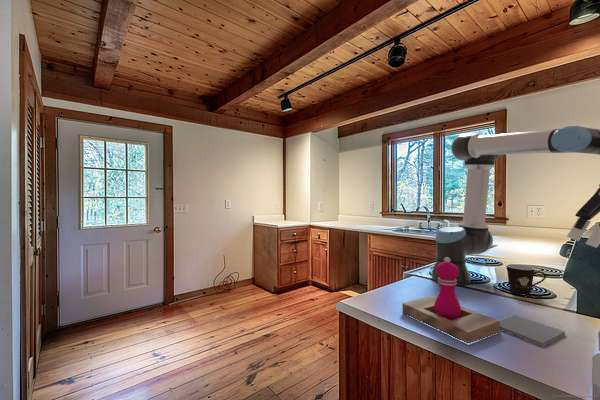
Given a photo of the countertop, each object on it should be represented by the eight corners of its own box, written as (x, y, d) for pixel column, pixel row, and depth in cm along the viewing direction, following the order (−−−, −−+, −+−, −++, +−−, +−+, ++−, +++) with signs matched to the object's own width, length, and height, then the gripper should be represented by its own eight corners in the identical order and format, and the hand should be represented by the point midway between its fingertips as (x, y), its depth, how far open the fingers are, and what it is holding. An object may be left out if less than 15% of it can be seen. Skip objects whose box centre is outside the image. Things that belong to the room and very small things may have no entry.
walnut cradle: (402, 313, 92) (402, 303, 92) (431, 305, 99) (431, 295, 99) (468, 345, 73) (468, 332, 73) (499, 333, 79) (499, 320, 79)
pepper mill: (435, 315, 91) (435, 253, 90) (461, 320, 87) (461, 256, 86) (432, 324, 84) (432, 258, 84) (460, 330, 81) (460, 261, 80)
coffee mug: (504, 292, 110) (504, 267, 110) (508, 287, 116) (508, 262, 116) (543, 300, 102) (543, 272, 101) (546, 294, 108) (546, 268, 107)
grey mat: (492, 326, 82) (492, 323, 82) (515, 318, 88) (515, 315, 88) (542, 346, 72) (542, 342, 72) (565, 335, 77) (565, 331, 77)
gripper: (625, 170, 74) (579, 241, 79) (654, 193, 85) (612, 254, 90) (589, 164, 81) (549, 230, 85) (620, 185, 92) (583, 243, 96)
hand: (582, 242), depth 88 cm, fingers open, 13 cm apart
